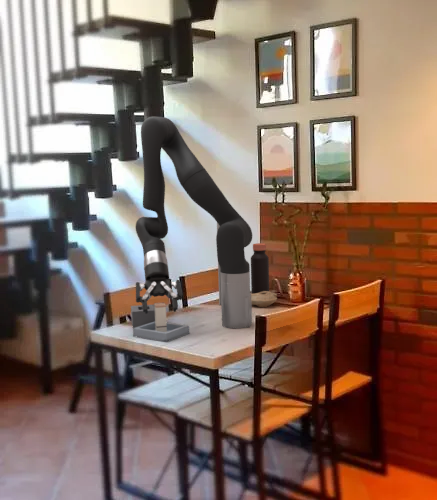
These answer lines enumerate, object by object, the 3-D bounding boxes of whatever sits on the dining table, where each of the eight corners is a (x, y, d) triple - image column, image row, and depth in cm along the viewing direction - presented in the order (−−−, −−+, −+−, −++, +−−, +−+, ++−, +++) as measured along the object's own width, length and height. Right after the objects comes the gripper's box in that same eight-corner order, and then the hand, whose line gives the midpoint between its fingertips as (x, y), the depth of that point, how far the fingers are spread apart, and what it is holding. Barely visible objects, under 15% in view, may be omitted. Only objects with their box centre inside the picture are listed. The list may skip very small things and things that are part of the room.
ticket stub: (165, 331, 213) (164, 302, 212) (167, 334, 209) (165, 305, 208) (155, 331, 212) (154, 303, 211) (156, 335, 208) (155, 305, 207)
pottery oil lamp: (241, 302, 252) (247, 284, 253) (272, 314, 250) (278, 296, 251) (239, 299, 243) (246, 280, 244) (271, 311, 241) (278, 292, 242)
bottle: (272, 296, 263) (271, 244, 261) (257, 298, 260) (256, 245, 257) (263, 293, 269) (262, 242, 266) (248, 295, 266) (246, 244, 263)
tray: (189, 333, 212) (189, 325, 211) (166, 342, 203) (165, 333, 202) (156, 328, 219) (156, 320, 219) (133, 336, 210) (132, 328, 210)
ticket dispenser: (155, 320, 230) (155, 304, 229) (158, 327, 221) (157, 310, 220) (131, 322, 228) (130, 305, 228) (132, 328, 220) (132, 311, 219)
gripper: (133, 262, 214) (137, 306, 205) (179, 259, 217) (184, 303, 207) (133, 276, 220) (137, 319, 210) (178, 273, 222) (183, 316, 213)
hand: (160, 311), depth 209 cm, fingers open, 8 cm apart
